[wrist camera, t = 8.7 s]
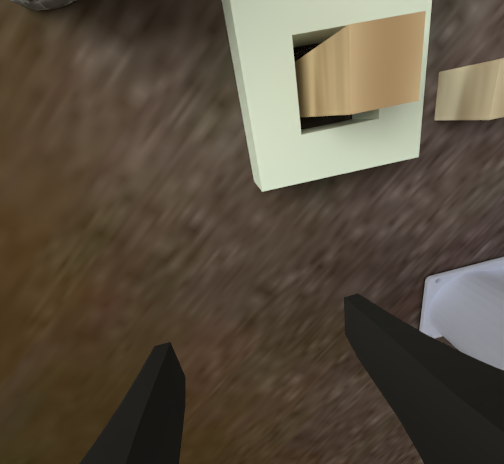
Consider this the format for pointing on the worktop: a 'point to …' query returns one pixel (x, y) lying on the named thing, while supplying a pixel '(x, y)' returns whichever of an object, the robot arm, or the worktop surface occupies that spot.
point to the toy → (43, 4)
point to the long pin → (363, 67)
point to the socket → (286, 97)
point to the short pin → (471, 92)
